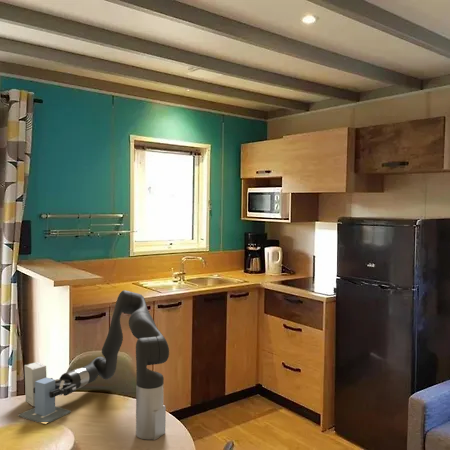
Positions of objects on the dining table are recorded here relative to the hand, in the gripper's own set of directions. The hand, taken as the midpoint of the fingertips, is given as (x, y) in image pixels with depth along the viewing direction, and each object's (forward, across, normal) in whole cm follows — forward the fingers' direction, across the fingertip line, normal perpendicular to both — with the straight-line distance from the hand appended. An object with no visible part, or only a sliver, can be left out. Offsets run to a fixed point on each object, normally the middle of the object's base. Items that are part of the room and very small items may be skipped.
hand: (42, 392), depth 175 cm
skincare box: (-7, -12, +9) cm, 17 cm away
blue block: (-2, 0, +8) cm, 8 cm away
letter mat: (-1, 0, +8) cm, 9 cm away
